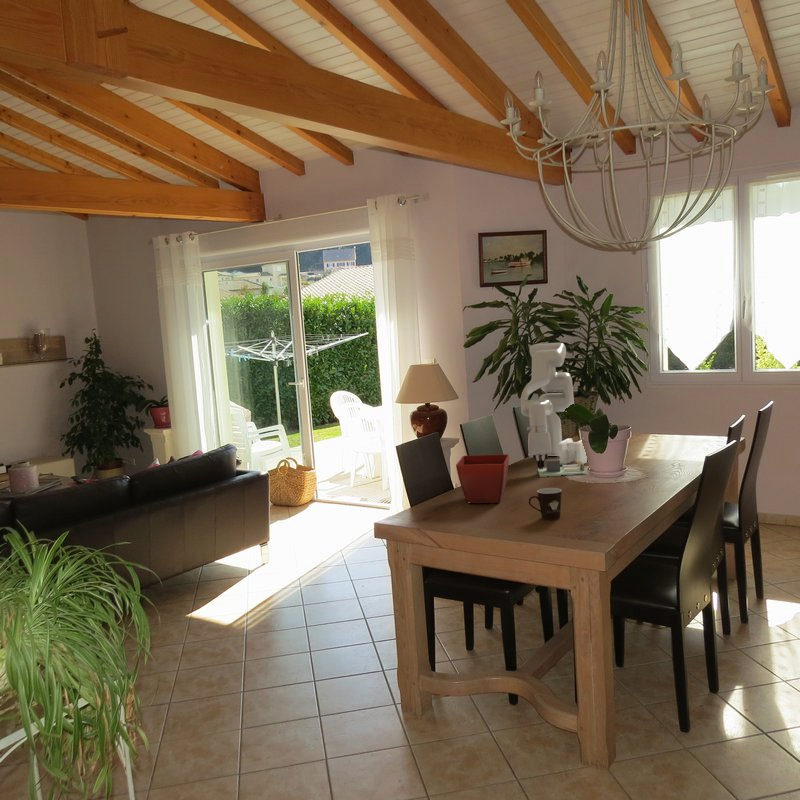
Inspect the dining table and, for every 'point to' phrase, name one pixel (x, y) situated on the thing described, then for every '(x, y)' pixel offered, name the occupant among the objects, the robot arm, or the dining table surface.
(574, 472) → the board
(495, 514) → the dining table surface
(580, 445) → the cable organizer
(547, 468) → the plug
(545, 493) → the coffee mug
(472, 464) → the plant pot
